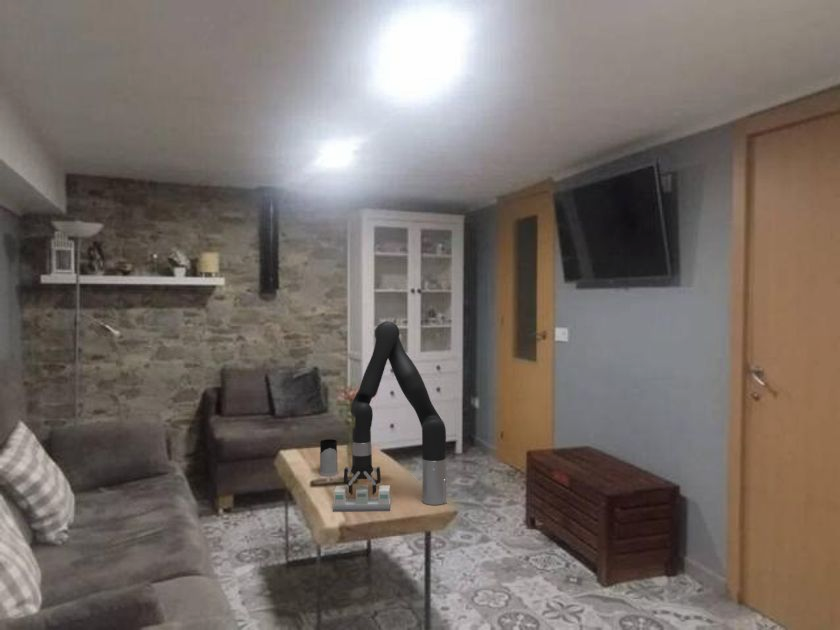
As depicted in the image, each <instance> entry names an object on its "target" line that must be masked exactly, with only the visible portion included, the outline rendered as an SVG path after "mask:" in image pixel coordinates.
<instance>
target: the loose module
mask: <svg viewBox="0 0 840 630" xmlns="http://www.w3.org/2000/svg"><path fill="white" fill-rule="evenodd" d="M355 498H356V504H368V500H369V498H370V485H357V486H356V490H355Z"/></svg>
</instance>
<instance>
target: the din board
mask: <svg viewBox="0 0 840 630" xmlns="http://www.w3.org/2000/svg"><path fill="white" fill-rule="evenodd" d="M347 487H348V486H347V485H336V486H335V489H334V492H333V496H334V497H333V499H334V501H333V508H332V512H333V513H334V512H335V513H336V512H337V513H338V512H339V513H342V512H344V513H345V512H346V513H347V512H350V513H351V512H353V513H355V512H390V511H391V506H392V505H391V504H392V503H391V502H392V498H391V485H390V484H389V485H387V484H385V485H383V484H382V485H381V484H380V485H379V487H378V497H369V500H368V504H356V497H353V498H350V497H349V498H348V493H347V492H348V488H347Z"/></svg>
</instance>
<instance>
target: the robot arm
mask: <svg viewBox="0 0 840 630" xmlns="http://www.w3.org/2000/svg"><path fill="white" fill-rule="evenodd" d="M374 336H375V343H374V349H373V350H372V351H373V352H372V355H371V357H370V359H369V362H368V363H367V367H366V369H365V372H364V374H363V375H362V380H361V382H360V386H359V388H358V390H357V392H356V395H355V396H354V398H353V400H352V403H351V405H350V406H351V407H350V413H351V415H352V416H353V417H354V426H353V428H352V444H351V445H352V446H351V447H352V448H351V453H352V454H351V457H352V458H351V459H352V460H351V465H352V466H351V467H347V466H345V468H344V470H343V484H344V485H348V486H347V487H348V494H350V496H353V494H354V493H353V491H354V490H353V489H354V486H353V483H354V482H355V481H356V479H357V480H368V481H369V482H370V483H371V485H372V492H371V493H372V495H375V494H376V493H377V485H378V484H381V482H382V481H381V480H382V477H381V476H382V475H381V467H380V466H377V467H373V462H372V461H373V456H372V455H373V453H372V451H373V449H372V432H371V429H372V426H373V425H372V424H373V416H374V415H373V413H374V412H373V408H372V406H371V402H372V399H373V398H374V397H376V395H377V393H378V390H379V387H380V384H381V381H382V378H383V375H384V372H385V368H386V365H387V363H388V362H389V364H390V367H391V369H392V372H393V374H394V377H395V379H396V382H397V384H398V385H399V388H400V389H401V391H402V394H403V395H404V397H405V398H406V399H407V401H408V403H409V404H410V405H411V406H412V408H413V409H414V411H415V414H416V415H417V418H418V420H419V423H420V427H421V441H422V442H421V443H422V444H421V447H422V450H421V455H422V457H421V459H422V460H421V462H422V463H421V465H422V470H421V471H422V473H421V474H422V503H424V504H425V505H429V506H439V505H443V504H447V475H446V474H447V469H446V468H447V466H446V465H447V464H446V463H447V461H446V457H447V456H446V455H447V454H446V453H447V429H446V426H445V422H444V421H443V419H442V418H441V417H440V414H439V413H438V411H437V410H436V409H435V407H434V404H433V403H432V401H431V398H430V394H429V392H428V390H427V387H426V385H425V382H424V380H423V378H422V376H421V374H420V372H419V370H418V369H417V366H416V365H415V364H414V362H413V360H412V359H411V358H410V357H409V356H408V354H407V352H406V351H405V349H404V346H403V345H402V341H401V340H400V329H399V327H398V325H397V324H396V323H394V322H392V321H383V322H381V323H379V324H378V325H377V326H376V327H375V330H374ZM373 472H374V473H375V474H376V479H375V477H374V475H373V474H372V473H373ZM350 473H352V474H353V475H352V477H351V478H350V480H349V479H348V475H349V474H350Z"/></svg>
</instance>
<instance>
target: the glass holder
mask: <svg viewBox="0 0 840 630" xmlns="http://www.w3.org/2000/svg"><path fill="white" fill-rule="evenodd" d="M319 444H320V446H319V447H320V448H319V449H320V451H319V460H320V461H319V463H320V464H319V467H320V468H319V469H320V471H319V474H318V475H319V476H322V477H333V476H337V475H339V470H338V442H337V439H331V438H328V439H323V440H322V439H321V440H320V441H319Z"/></svg>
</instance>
